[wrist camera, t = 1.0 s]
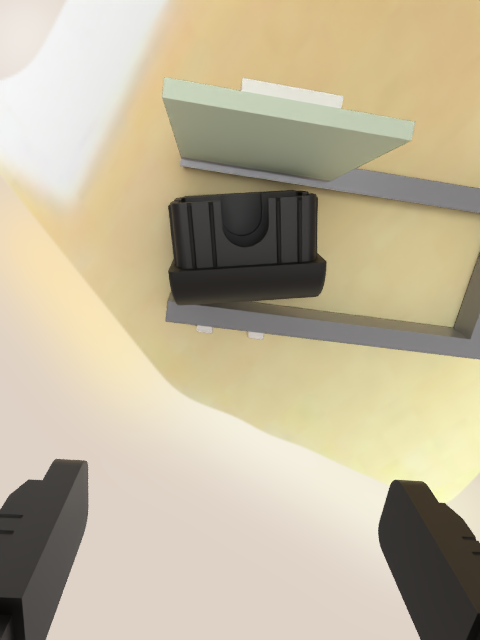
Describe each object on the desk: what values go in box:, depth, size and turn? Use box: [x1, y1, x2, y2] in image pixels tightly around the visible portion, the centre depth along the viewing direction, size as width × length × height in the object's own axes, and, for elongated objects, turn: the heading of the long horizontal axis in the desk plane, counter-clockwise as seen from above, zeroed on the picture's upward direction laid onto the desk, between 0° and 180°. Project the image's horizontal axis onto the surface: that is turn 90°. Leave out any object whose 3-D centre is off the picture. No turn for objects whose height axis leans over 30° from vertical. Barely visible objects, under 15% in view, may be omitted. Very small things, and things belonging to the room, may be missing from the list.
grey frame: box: [166, 157, 480, 359], centre depth 32 cm, size 13×26×2 cm, turn 82°
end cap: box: [168, 190, 326, 306], centre depth 29 cm, size 10×7×7 cm
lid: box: [162, 77, 415, 182], centre depth 22 cm, size 12×10×1 cm
